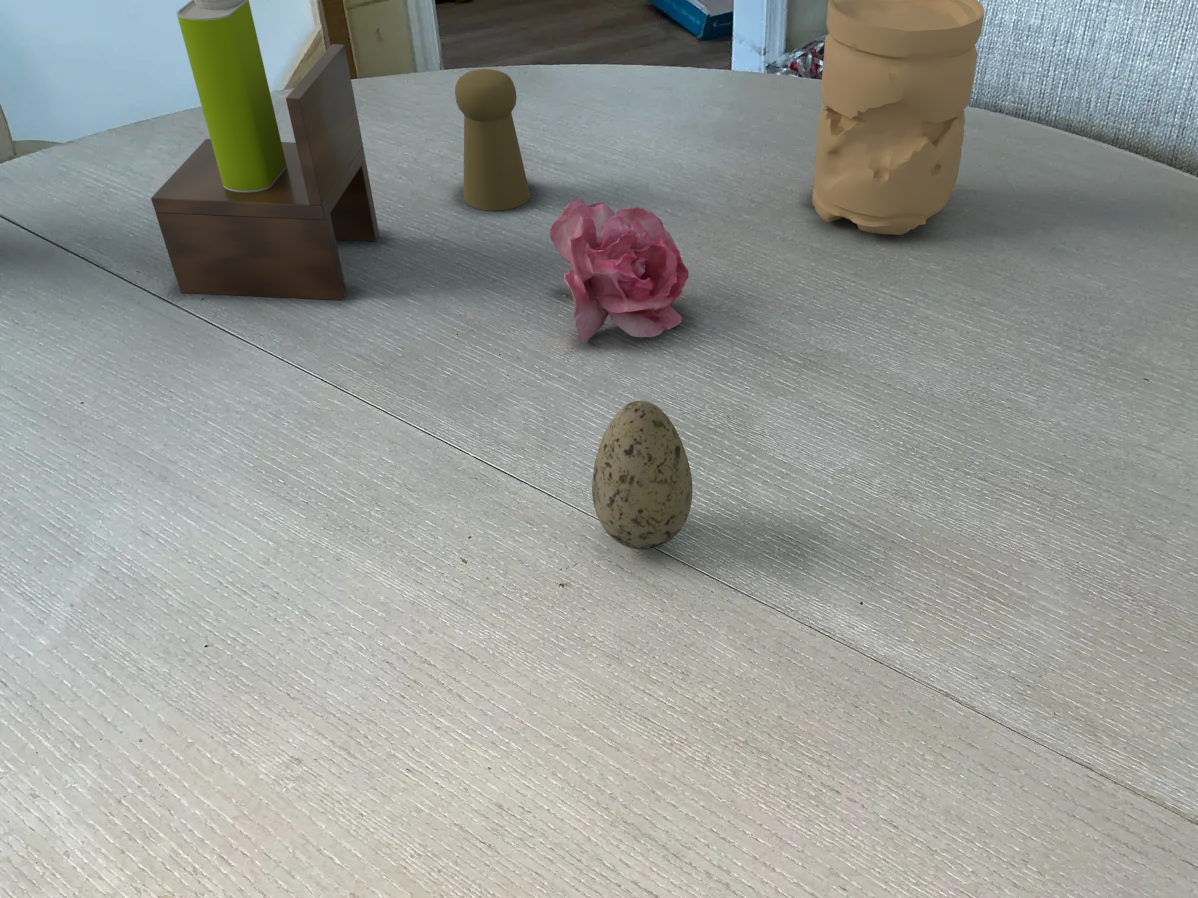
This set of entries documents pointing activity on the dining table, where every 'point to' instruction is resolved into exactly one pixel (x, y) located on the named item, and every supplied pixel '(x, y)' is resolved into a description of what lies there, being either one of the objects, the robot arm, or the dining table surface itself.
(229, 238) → the wooden toy chair
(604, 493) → the decorative egg
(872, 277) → the dining table surface
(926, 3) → the container
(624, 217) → the flower
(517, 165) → the brown peg doll
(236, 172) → the vape
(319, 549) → the dining table surface
